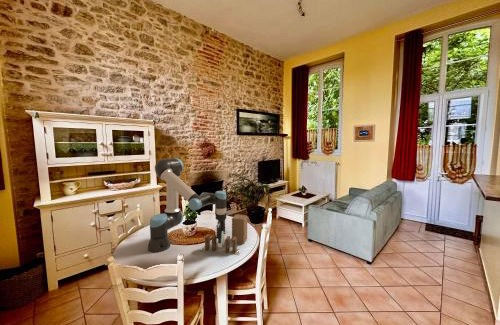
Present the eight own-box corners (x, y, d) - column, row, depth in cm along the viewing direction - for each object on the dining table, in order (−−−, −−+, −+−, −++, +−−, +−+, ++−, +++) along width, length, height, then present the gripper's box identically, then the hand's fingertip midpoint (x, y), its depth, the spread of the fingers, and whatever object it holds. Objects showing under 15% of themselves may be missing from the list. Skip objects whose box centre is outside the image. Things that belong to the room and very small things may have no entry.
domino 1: (205, 250, 150) (204, 237, 149) (207, 247, 155) (207, 234, 154) (207, 251, 150) (207, 237, 149) (210, 247, 155) (210, 234, 154)
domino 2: (211, 251, 149) (211, 237, 148) (214, 247, 154) (214, 234, 153) (214, 251, 149) (214, 238, 148) (216, 248, 154) (216, 235, 153)
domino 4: (232, 253, 147) (232, 239, 146) (234, 249, 152) (234, 236, 151) (235, 253, 147) (235, 239, 146) (236, 250, 152) (236, 236, 151)
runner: (200, 251, 149) (200, 251, 149) (204, 246, 157) (204, 246, 157) (238, 255, 145) (238, 255, 145) (241, 249, 153) (241, 249, 153)
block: (247, 239, 170) (247, 215, 168) (243, 245, 160) (244, 219, 158) (235, 237, 172) (235, 213, 170) (231, 243, 163) (231, 218, 161)
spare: (218, 247, 148) (218, 233, 147) (221, 243, 153) (220, 230, 152) (221, 247, 148) (221, 233, 147) (223, 244, 153) (223, 230, 152)
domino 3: (225, 252, 148) (225, 239, 147) (227, 249, 153) (227, 235, 152) (228, 253, 147) (228, 239, 147) (230, 249, 152) (230, 236, 151)
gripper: (222, 218, 139) (222, 251, 141) (229, 209, 157) (229, 239, 159) (211, 217, 140) (211, 250, 142) (219, 209, 158) (219, 238, 160)
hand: (221, 244), depth 150 cm, fingers closed on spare, 5 cm apart
